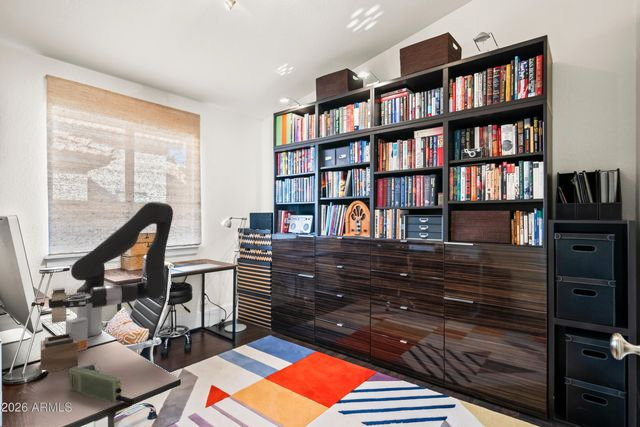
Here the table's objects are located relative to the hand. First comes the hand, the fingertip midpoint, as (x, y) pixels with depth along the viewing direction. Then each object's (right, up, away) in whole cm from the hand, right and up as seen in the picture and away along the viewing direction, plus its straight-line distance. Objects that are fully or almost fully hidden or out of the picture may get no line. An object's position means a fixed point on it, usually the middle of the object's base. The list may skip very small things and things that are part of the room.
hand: (49, 303), depth 120 cm
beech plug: (+2, -6, +2) cm, 7 cm away
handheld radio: (+30, -23, -19) cm, 42 cm away
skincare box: (0, -22, +14) cm, 26 cm away
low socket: (+16, -22, -5) cm, 27 cm away
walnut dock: (+2, -22, +2) cm, 22 cm away
